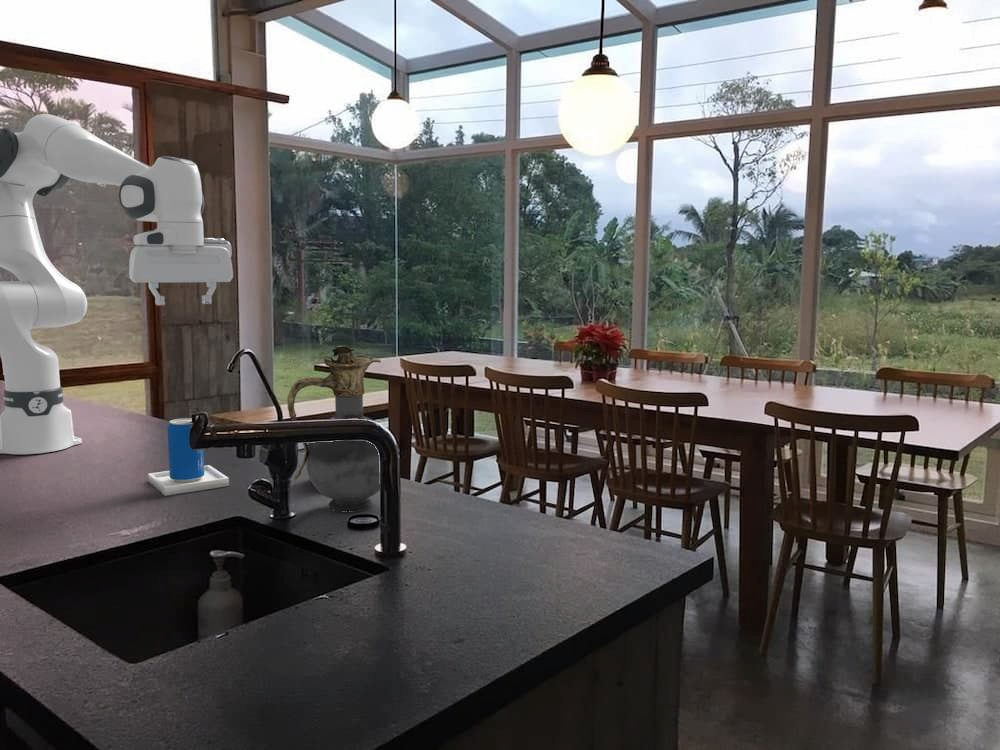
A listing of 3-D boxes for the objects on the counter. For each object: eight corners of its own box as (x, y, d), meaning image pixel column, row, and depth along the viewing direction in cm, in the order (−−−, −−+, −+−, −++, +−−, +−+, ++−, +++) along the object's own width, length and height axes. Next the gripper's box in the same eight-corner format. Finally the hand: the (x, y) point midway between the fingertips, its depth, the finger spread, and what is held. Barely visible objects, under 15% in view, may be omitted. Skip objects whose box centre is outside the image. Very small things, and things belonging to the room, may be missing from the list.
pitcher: (402, 508, 148) (401, 345, 144) (299, 525, 138) (295, 350, 134) (378, 493, 157) (377, 339, 153) (281, 508, 147) (276, 344, 143)
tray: (148, 481, 163) (148, 473, 163) (209, 472, 171) (209, 465, 170) (165, 495, 154) (164, 487, 154) (229, 485, 161) (228, 477, 161)
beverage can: (192, 484, 158) (189, 424, 157) (163, 482, 160) (160, 423, 158) (210, 476, 165) (208, 418, 163) (182, 474, 166) (179, 416, 164)
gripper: (226, 238, 176) (228, 302, 178) (125, 236, 164) (128, 304, 165) (236, 238, 171) (238, 304, 173) (132, 235, 159) (136, 306, 161)
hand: (183, 304), depth 169 cm, fingers open, 8 cm apart
